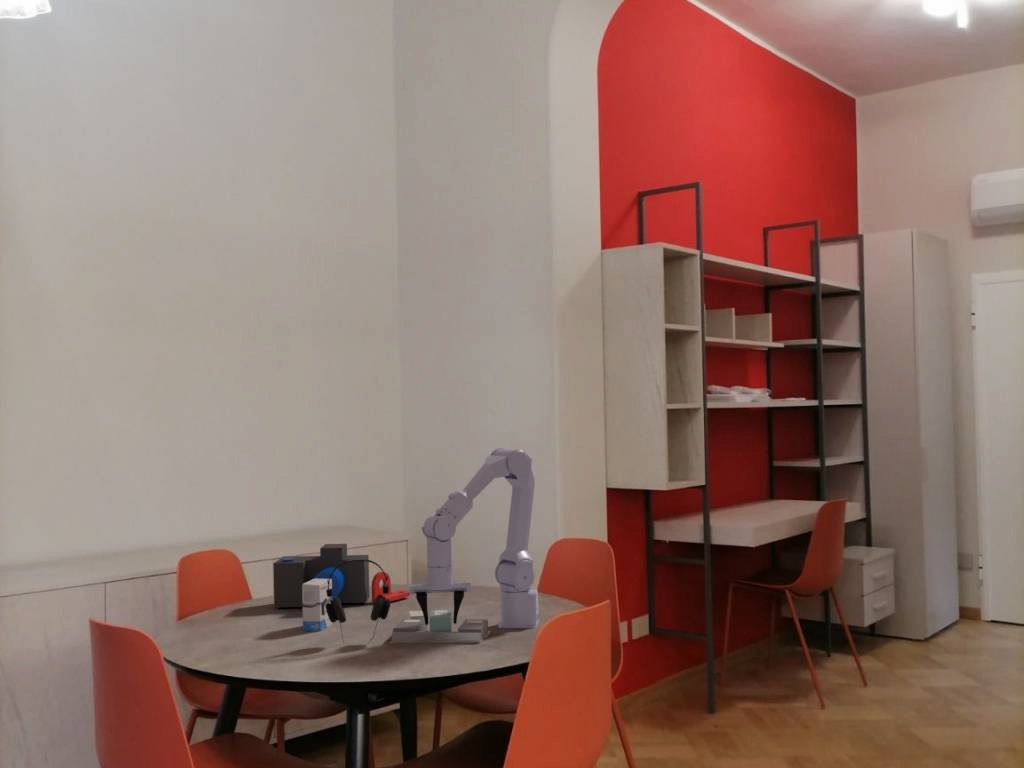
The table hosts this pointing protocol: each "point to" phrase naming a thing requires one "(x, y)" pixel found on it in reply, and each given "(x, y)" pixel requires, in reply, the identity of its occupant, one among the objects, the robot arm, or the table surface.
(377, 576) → the bracket
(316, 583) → the ink box
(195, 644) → the table surface
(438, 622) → the teal module
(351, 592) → the camera
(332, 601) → the headphones
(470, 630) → the mounted modules
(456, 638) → the rail
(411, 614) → the block
